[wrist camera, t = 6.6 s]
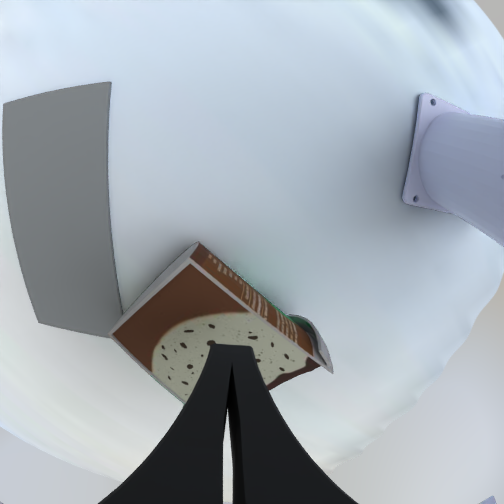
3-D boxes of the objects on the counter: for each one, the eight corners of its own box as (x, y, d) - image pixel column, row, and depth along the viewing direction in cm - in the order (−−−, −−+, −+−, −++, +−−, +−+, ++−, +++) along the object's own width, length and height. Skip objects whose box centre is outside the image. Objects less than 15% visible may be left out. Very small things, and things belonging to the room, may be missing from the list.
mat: (111, 81, 14) (109, 81, 13) (128, 338, 22) (127, 341, 22) (5, 103, 13) (3, 103, 13) (40, 320, 22) (38, 322, 21)
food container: (138, 294, 23) (220, 367, 25) (99, 341, 17) (201, 421, 20) (240, 198, 18) (336, 305, 20) (210, 238, 12) (341, 369, 14)
